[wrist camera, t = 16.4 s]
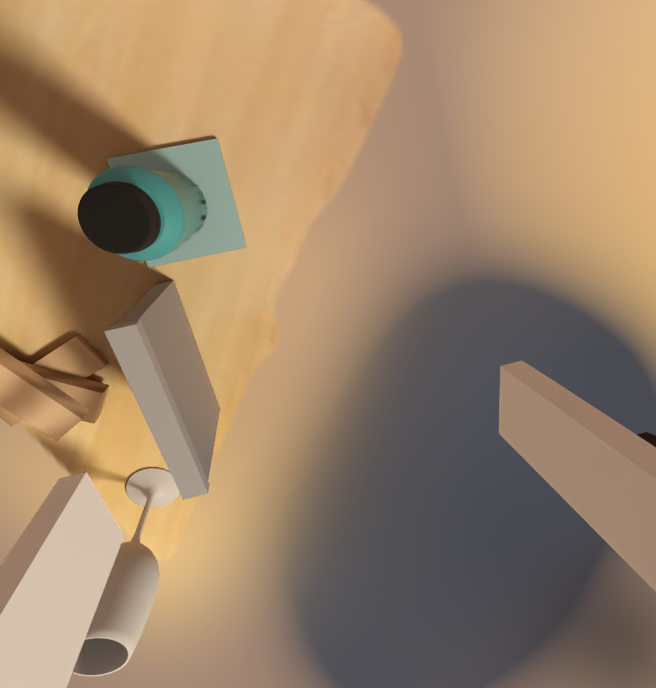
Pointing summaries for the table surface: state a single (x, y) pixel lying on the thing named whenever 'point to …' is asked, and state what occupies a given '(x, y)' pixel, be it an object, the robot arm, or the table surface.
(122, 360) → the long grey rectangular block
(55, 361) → the offcut bottom
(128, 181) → the beverage bottle
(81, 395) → the offcut middle
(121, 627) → the wineglass
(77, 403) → the offcut top
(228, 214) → the mat
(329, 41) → the table surface
